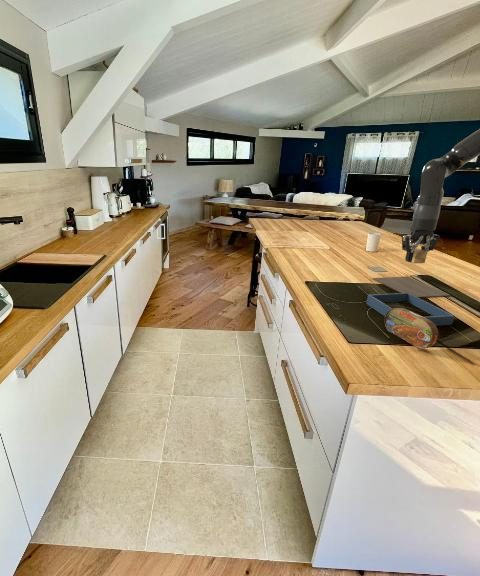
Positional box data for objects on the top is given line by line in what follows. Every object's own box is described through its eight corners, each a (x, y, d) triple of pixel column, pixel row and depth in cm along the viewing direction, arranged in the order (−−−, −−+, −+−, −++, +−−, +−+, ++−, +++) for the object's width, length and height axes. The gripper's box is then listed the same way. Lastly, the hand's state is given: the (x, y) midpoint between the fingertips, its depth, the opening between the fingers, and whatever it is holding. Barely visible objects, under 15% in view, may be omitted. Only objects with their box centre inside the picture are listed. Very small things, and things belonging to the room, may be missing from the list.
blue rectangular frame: (405, 302, 113) (408, 292, 112) (451, 327, 95) (454, 315, 94) (365, 304, 112) (367, 294, 111) (404, 330, 94) (407, 318, 93)
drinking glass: (377, 252, 180) (381, 235, 176) (364, 251, 183) (367, 234, 179) (378, 249, 185) (381, 233, 182) (365, 248, 188) (368, 232, 185)
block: (415, 259, 124) (418, 248, 122) (424, 263, 120) (427, 251, 118) (404, 260, 124) (407, 249, 122) (413, 263, 119) (416, 251, 118)
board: (406, 279, 137) (407, 276, 136) (449, 298, 116) (450, 295, 116) (372, 281, 135) (372, 278, 135) (409, 301, 115) (410, 297, 114)
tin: (381, 328, 96) (386, 303, 93) (389, 327, 96) (395, 302, 93) (426, 355, 82) (434, 326, 79) (435, 353, 83) (444, 325, 80)
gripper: (415, 218, 111) (404, 264, 118) (452, 217, 113) (439, 263, 119) (400, 216, 118) (390, 259, 125) (435, 215, 120) (424, 258, 126)
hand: (414, 261), depth 122 cm, fingers closed on block, 4 cm apart
